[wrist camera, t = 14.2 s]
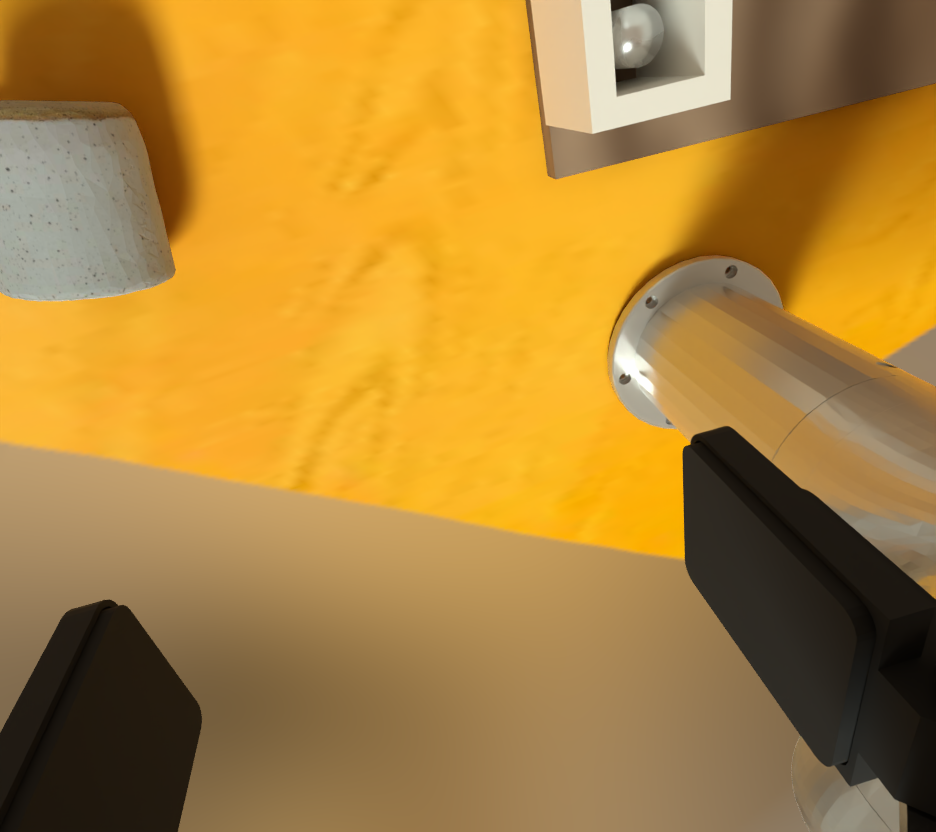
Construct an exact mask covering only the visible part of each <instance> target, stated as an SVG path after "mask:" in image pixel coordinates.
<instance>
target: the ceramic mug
mask: <svg viewBox="0 0 936 832" xmlns="http://www.w3.org/2000/svg"><path fill="white" fill-rule="evenodd" d="M174 274H175V265H174V261H173V257H172V253H171V249H170V245H169V241H168V237H167V233H166V229H165V224H164V220H163V215H162V211H161V207H160V204H159V200H158V196H157V193H156V189H155V185H154V181H153V176H152V172H151V167H150V162H149V157H148V153H147V149H146V146H145V143H144V140H143V138H142V135H141V133H140V130H139V128H138V126H137V123H136V121H135V119H134V117H133V116H132V114H131V113H130V112H129V111H128V110H127V109H126V108H125V107H123V106H122V105H120V104H118V103H114V102H87V101H27V100H0V292H1V293H3V294H4V295H6V296H9V297H12V298H19V299H23V300H31V301H66V300H80V299H94V298H104V297H113V296H119V295H124V294H129V293H132V292H135V291H138V290H145V289H148V288H152V287H154V286H157V285H159V284H161V283H164V282H165V281H167V280H168V279H170V278H172V277H173V276H174Z"/></svg>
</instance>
